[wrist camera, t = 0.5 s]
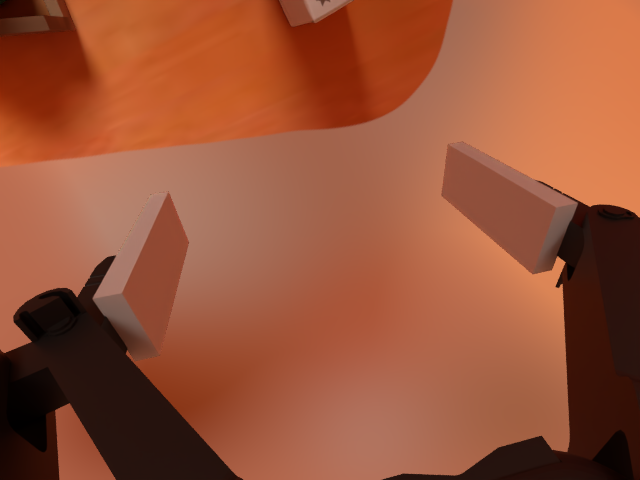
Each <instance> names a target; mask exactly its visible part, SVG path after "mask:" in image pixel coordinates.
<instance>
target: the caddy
mask: <svg viewBox="0 0 640 480" xmlns="http://www.w3.org/2000/svg"><path fill="white" fill-rule="evenodd" d="M44 2H45V4H46V7H47V9H48V11H49V13H50V16H45V15H42V16H29V17H17V18H4V19H0V37H3V36H14V35H26V34H38V33H49V32H61V31H73V30H76V28H75V26H74V23H73V21H72V19H71V16H70V14H69V11H68V9H67V6H66V4H65V2H64V0H44Z"/></svg>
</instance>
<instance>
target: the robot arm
mask: <svg viewBox="0 0 640 480" xmlns="http://www.w3.org/2000/svg"><path fill="white" fill-rule="evenodd" d="M442 196H443V197H444V198H445V199H446V200H447V201H448V202H450V203H451V204H452V205H453V206H454V207H455V208H457V209H458V210H459V211H460V212H461V213H462V214H463V215H465V216H466V217H467V218H468V219H469V220H470V221H472V222H473V223H474V224H475V225H476V226H477V227H479V228H480V229H481V230H482V231H483V232H484V233H485V234H487V235H488V236H489V237H490V238H491V239H493V240H494V241H495V242H496V243H497V244H498V245H499V246H500V247H502V248H503V249H504V250H506V252H507V253H509V254H510V255H511V256H512V257H513V258H514V259H516V260H517V261H518V262H519V263H520V264H521V265H523V266H524V267H525V268H526V269H527V270H528V271H529V272H531V273H532V274H536V273H541V272H545V271H550V270H552V268H553V266H554V263H555V261H556V258H557V256H559V257H560V258H561V259H562V260H564V261H565V262H566V263H565V265H564V268H563V270H562V272H561V275H560V277H559V279H558V282H557V284H556V287H557V288H559V287H560V285H561V284H563V298H564V299H563V300H564V321H565V343H566V363H567V385H568V406H569V426H570V442H569V448H568V452H562V451H556V450H552V449H551V448H550V446H549V445H548V444H547V442H546V441H545V440H544V438H543V437H542V436H539V437H535V438H531V439H528V440H524V441H521V442H517V443H514V444H510V445H506V446H502V447H499V448H497V449H496V450H494V451H493V452H492V453H490V454H489V455H487V456H486V457H485V458H483V459H482V460H480V461H479V462H478V463H476V464H475V465H474V466H472V467H471V468H469V469H468V470H467V471H465V472H464V473H462V474H460V475H456V476H451V475H450V476H449V475H423V474H401V475H397V476H393V477H390V478H386V479H383V480H640V218H639V217H638V216H637V215H636V214H635V213H633V212H631V211H629V210H627V209H624V208H621V207H618V206H612V205H593V206H591V207H589V206H587V205H585V204H583V203H581V202H580V201H578V200H576V199H574V198H572V197H570V196H568V195H566V194H564V193H563V194H562V192H561V191H559V190H557V189H553V187H551V186H549V185H547V184H545V183H543V182H541V181H537V180H534V179H532V178H530V177H528V176H526V175H524V174H522V173H521V172H519V171H517V170H515V169H513V168H511V167H509V166H507V165H506V164H504V163H502V162H500V161H498V160H496V159H494V158H492V157H491V156H489V155H487V154H485V153H483V152H481V151H479V150H477V149H476V148H474V147H472V146H470V145H468V144H466V143H464V142H458V143H452V144H448V149H447V156H446V164H445V172H444V180H443V188H442ZM188 244H189V242H188V239H187V236H186V234H185V231H184V229H183V227H182V224H181V221H180V219H179V216H178V214H177V211H176V209H175V206H174V204H173V201H172V199H171V197H170V194H169V192H162V193H157V194H151V195H150V196H149V198H148V200H147V202H146V203H145V205H144V207H143V209H142V211H141V212H140V214H139V216H138V218H137V220H136V221H135V223H134V225H133V227H132V229H131V230H130V232H129V234H128V236H127V238H126V239H125V241H124V243H123V245H122V247H121V248H120V250H119V252H118V254H117V255H116V256H110V257H107V258H106V259H104V260H103V261H102V262H101V263H100V264H99V265H97V267H96V268H95V269H94V271H93V272H92V274H91V276H90V279H88V281H87V282H86V284H85V287H83V289H82V290H81V292H80V294H79V295H78V297H76V296H75V294H74V293H73V292H72V290H70V289H68V288H57V289H53V290H49V291H46V292H44V293H41V294H39V295H37V296H35V297H34V298H32V299H30V300H29V301H27V302H26V303H24V305H22V306H21V307H20V308H19V309H18V310H17V312H16V313H15V315H14V317H13V318H14V323H15V324H16V325H17V326H18V327H19V328H20V329H21V330H22V331H23V332H24V334H25V335H26V336H27V337H28V338H29V339H30V340H31V341H32V342H31V343H28V344H26V345H24V346H21V347H18V348H16V349H14V350H11V351H9V352H6V353H3V352H2V351H1V350H0V480H59V466H58V450H57V433H56V416H55V410H56V409H58V408H60V407H62V406H64V405H66V404H69V403H70V404H71V406H72V408H73V409H74V411H75V413H76V414H77V416H78V418H79V419H80V421H81V422H82V424H83V426H84V427H85V429H86V431H87V432H88V434H89V436H90V437H91V439H92V440H93V442H94V444H95V446H96V447H97V449H98V450H99V452H100V454H101V456H102V457H103V459H104V460H105V462H106V464H107V465H108V467H109V469H110V470H111V472H112V474H113V475H114V477H115V479H116V480H243V479H242V478H240V477H237V476H236V475H235V474H234V473H233V472H232V471H231V470H230V469H229V468H228V466H227V465H226V464H225V463H224V462H223V461H222V460H221V459H220V458H219V457H218V455H217V454H216V453H215V452H214V451H213V450H212V449H211V448H210V446H209V445H207V443H206V442H205V441H204V440H203V439H202V438H201V437H200V436H199V434H198V433H197V432H196V431H195V430H194V429H193V428H192V427H191V426H190V425H189V424H188V422H187V421H186V420H185V419H184V418H183V417H182V416H181V415H180V414H179V412H178V411H177V410H176V409H175V408H174V407H173V406H172V405H171V404H170V402H169V401H168V400H167V399H166V398H165V397H164V396H163V395H162V394H161V393H160V391H159V390H158V389H157V388H156V387H155V386H154V385H153V384H152V383H151V382H150V380H149V379H147V377H146V376H145V375H144V374H143V373H142V372H141V370H140V369H139V368H138V367H137V366H136V365H135V364H134V363H133V362H132V361H131V359H130V358H129V357H128V356H127V355H126V352H127V350H128V352H129V353H130V355H131V356H132V357H133V359H134V360H135V361H138V360H143V359H147V358H152V357H157V356H160V353H161V349H162V345H163V341H164V338H165V334H166V330H167V326H168V322H169V318H170V314H171V310H172V306H173V303H174V298H175V295H176V291H177V287H178V283H179V279H180V275H181V271H182V267H183V263H184V260H185V256H186V252H187V248H188Z"/></svg>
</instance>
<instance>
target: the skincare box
mask: <svg viewBox="0 0 640 480" xmlns="http://www.w3.org/2000/svg"><path fill="white" fill-rule="evenodd" d="M352 1H353V0H279V2H280V4H281V6H282V8H283V11H284V13H285V15H286V17H287V19H288V21H289V23H290V25H291V26H292V27H295V26H298V25H302V24H306V23H310V22H314V23H317V22H319V21H320V20H322V19H324V18H325V17H327V16H329V15H330V14H332V13H334V12H335V11H337V10H339V9H340V8H342V7H344V6H345V5H347V4H349V3H350V2H352Z"/></svg>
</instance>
